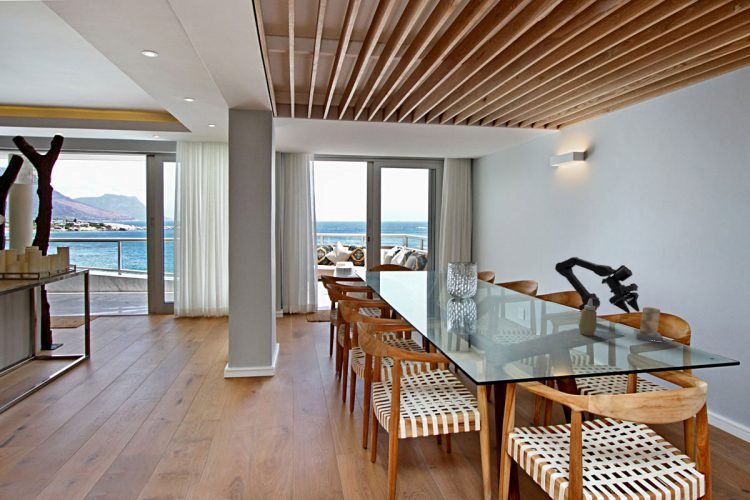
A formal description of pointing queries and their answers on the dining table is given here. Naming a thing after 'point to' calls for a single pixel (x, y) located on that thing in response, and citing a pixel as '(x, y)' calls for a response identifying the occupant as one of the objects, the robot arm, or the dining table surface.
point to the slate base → (647, 336)
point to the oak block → (650, 321)
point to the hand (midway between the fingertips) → (634, 312)
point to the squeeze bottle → (588, 319)
